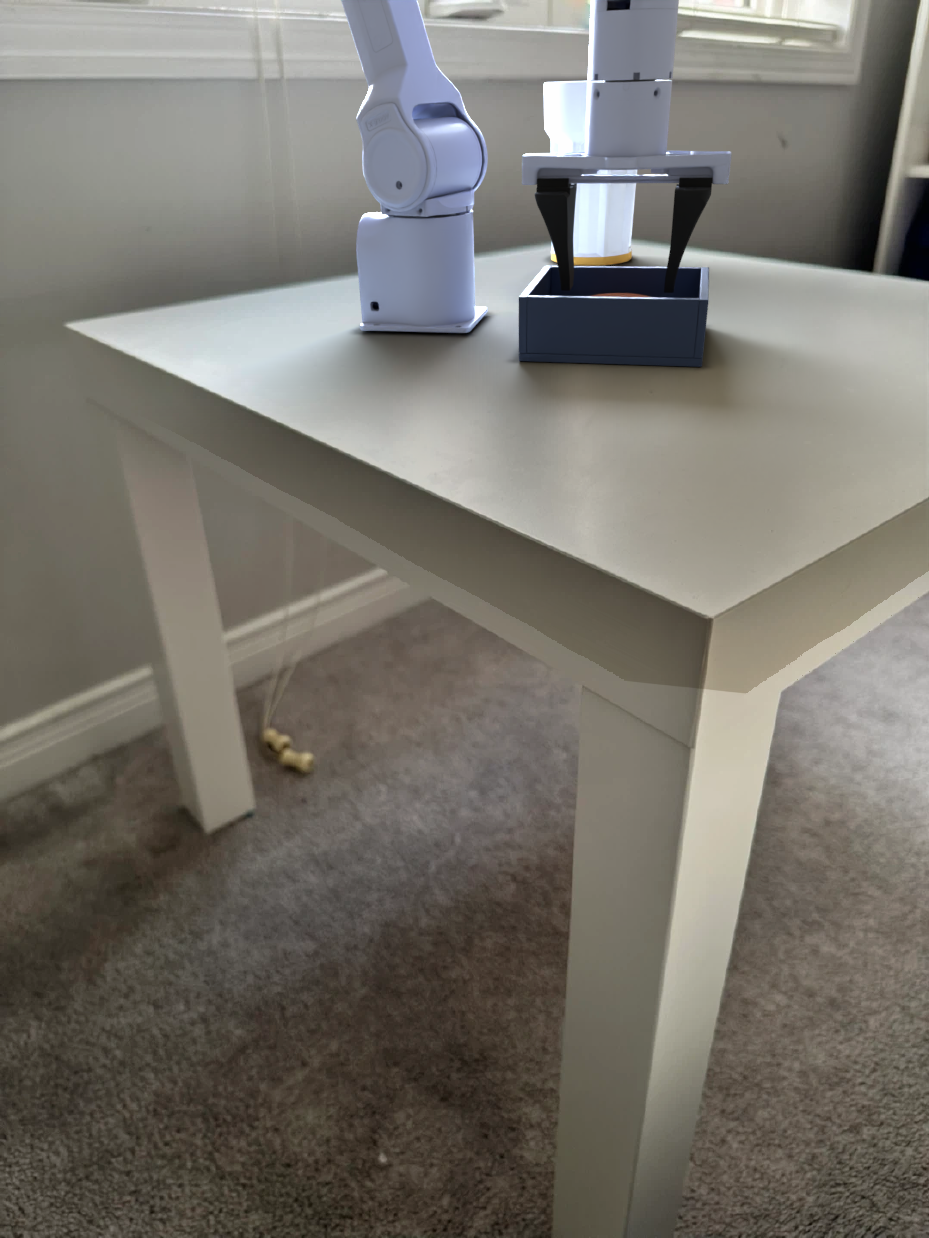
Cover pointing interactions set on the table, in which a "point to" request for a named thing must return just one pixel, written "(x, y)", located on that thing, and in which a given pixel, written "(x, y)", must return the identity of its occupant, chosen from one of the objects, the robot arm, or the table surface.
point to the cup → (597, 205)
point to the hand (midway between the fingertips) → (617, 289)
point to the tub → (615, 317)
